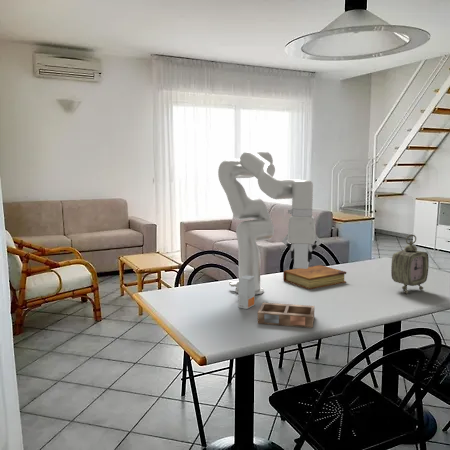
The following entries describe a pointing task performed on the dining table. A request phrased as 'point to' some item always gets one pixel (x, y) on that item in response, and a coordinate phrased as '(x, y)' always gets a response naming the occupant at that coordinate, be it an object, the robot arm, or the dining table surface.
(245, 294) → the skincare box
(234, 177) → the robot arm
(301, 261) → the plug
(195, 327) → the dining table surface
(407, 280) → the tabletop clock
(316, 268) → the diary
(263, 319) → the socket block
